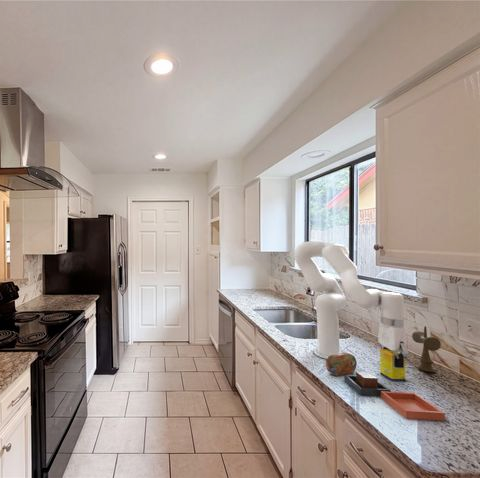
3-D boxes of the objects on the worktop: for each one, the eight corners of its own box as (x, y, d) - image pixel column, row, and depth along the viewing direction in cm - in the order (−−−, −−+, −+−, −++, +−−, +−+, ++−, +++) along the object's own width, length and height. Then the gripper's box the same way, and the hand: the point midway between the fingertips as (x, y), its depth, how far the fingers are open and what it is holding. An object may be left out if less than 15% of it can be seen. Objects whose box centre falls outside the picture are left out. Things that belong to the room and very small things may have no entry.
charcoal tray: (344, 380, 111) (344, 374, 111) (371, 382, 110) (371, 376, 110) (360, 395, 100) (360, 388, 100) (391, 397, 99) (390, 390, 99)
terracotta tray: (380, 397, 99) (380, 391, 99) (415, 399, 97) (414, 392, 97) (406, 418, 87) (405, 410, 87) (445, 420, 86) (445, 413, 86)
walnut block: (356, 383, 108) (355, 371, 108) (369, 384, 107) (369, 372, 107) (364, 390, 103) (363, 377, 103) (377, 391, 102) (377, 378, 102)
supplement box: (392, 373, 117) (392, 348, 117) (405, 380, 111) (405, 354, 111) (379, 373, 116) (379, 348, 116) (392, 380, 110) (392, 354, 110)
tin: (331, 377, 114) (330, 357, 114) (324, 373, 117) (324, 354, 117) (357, 372, 118) (357, 353, 118) (350, 369, 121) (350, 350, 121)
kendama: (425, 374, 115) (424, 329, 115) (411, 365, 124) (410, 322, 125) (442, 376, 113) (441, 330, 114) (427, 366, 123) (426, 323, 123)
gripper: (369, 315, 122) (369, 354, 122) (398, 328, 105) (398, 373, 105) (386, 316, 122) (387, 354, 122) (419, 328, 104) (419, 374, 104)
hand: (392, 362), depth 113 cm, fingers closed on supplement box, 6 cm apart
